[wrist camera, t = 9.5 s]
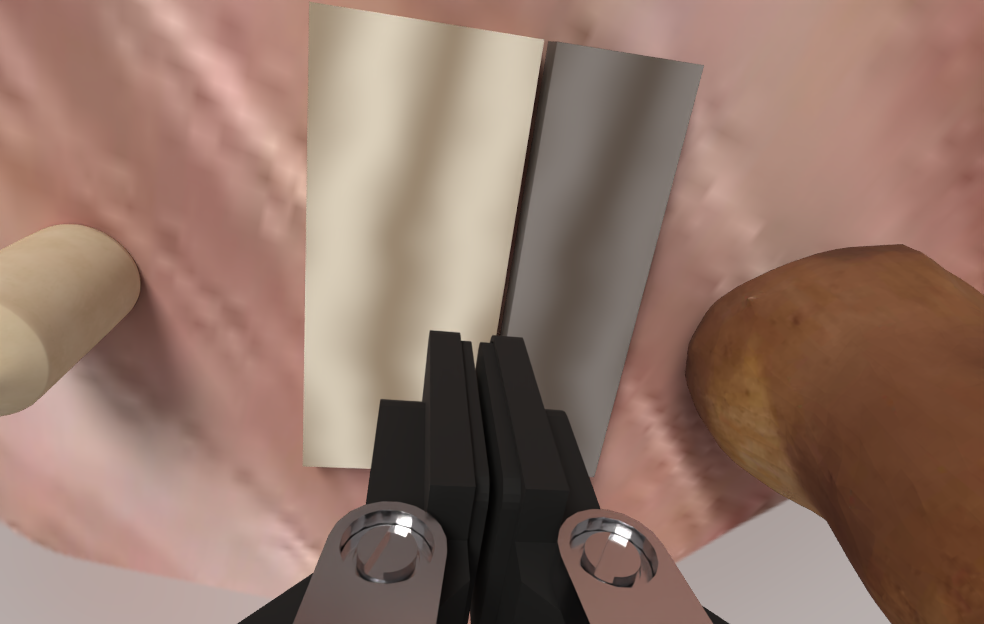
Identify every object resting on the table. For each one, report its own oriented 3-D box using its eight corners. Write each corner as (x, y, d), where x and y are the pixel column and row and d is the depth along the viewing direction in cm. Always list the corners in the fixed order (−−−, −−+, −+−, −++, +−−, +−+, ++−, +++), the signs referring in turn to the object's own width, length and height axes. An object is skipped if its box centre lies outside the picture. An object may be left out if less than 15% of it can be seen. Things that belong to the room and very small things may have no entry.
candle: (24, 208, 28) (-160, 287, 19) (148, 240, 30) (29, 328, 21) (21, 308, 30) (-147, 423, 21) (137, 334, 32) (25, 452, 23)
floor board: (686, 63, 29) (703, 65, 27) (585, 456, 39) (594, 476, 37) (548, 41, 28) (557, 41, 26) (480, 452, 37) (483, 472, 36)
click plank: (536, 39, 28) (544, 39, 26) (471, 451, 37) (474, 472, 36) (316, 4, 26) (309, 1, 24) (308, 444, 36) (302, 466, 34)
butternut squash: (712, 445, 39) (1105, 987, 17) (618, 299, 34) (1013, 812, 11) (904, 332, 37) (1643, 779, 15) (836, 157, 32) (1845, 445, 9)
